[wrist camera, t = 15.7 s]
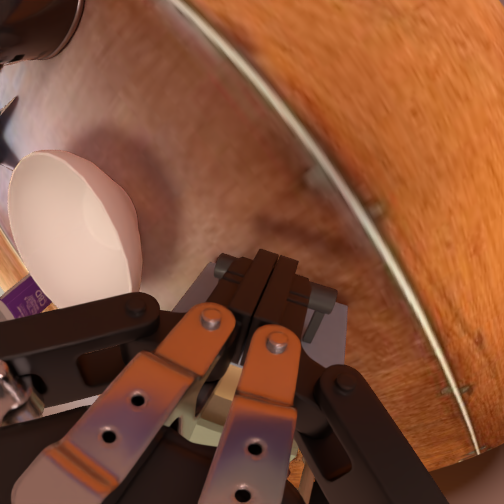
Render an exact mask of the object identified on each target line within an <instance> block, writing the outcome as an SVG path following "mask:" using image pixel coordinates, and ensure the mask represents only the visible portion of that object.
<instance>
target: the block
mask: <svg viewBox="0 0 504 504" xmlns="http://www.w3.org/2000/svg"><path fill="white" fill-rule="evenodd" d="M242 369H243V368H240V367H237V366H234V365H231V364H230V365H229V367H228V369H227V371H226V373H225V375H224V376H223V379H222V382H221V383H220V385H219V387H218V388H217V390H216V392H215V393H214V394H215V395H217V396H220V397H223V398H225V399H228V400H231V401H232V400H233V397H234V394H235V391H236V388H237V385H238V382H239V378H240V375H241V372H242Z"/></svg>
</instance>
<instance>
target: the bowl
mask: <svg viewBox="0 0 504 504" xmlns="http://www.w3.org/2000/svg"><path fill="white" fill-rule="evenodd" d="M7 204H8V213H9V222H10V226H11V230H12V234H13V238H14V241H15V244H16V246H17V249H18V251H19V254H20V256H21V258H22V261H23V262H24V264H25V266H26V268H27V270H28V271H29V273H30V275H31V276H32V278H33V279H34V281H35V282H36V283H37V285H38V286H39V287H40V289H41V290H42V291H43V293H44V294H45V295H46V296H47V297H48V298H49V299H50V300H51V301H52V302H53V303H54V304H55V305H56V306H57V307H58V308H59V309H61V308H65V307H70V306H74V305H79V304H83V303H87V302H92V301H96V300H100V299H105V298H109V297H113V296H117V295H122V294H126V293H131V292H139V289H140V282H141V274H142V264H143V259H142V250H141V241H140V234H139V230H138V217H137V214H136V210H135V207H134V205H133V203H132V201H131V199H130V197H129V196H128V194H127V193H126V192H125V190H124V189H123V188H122V187H121V186H120V185H119V184H117V183H116V182H115V181H113V180H112V179H111V178H110V177H109V176H108V175H106V174H105V173H104V172H103V171H102V170H101V169H99V168H98V167H97V166H96V165H95V164H93V163H92V162H91V161H88V160H86V159H84V158H82V157H79V156H77V155H75V154H73V153H70V152H68V151H61V150H41V151H36V152H33V153H31V154H29V155H27V156H25V157H24V158H22V159H21V160H20V162H19V163H18V164H17V166H16V167H15V169H14V170H13V173H12V176H11V180H10V183H9V188H8V203H7Z"/></svg>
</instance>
